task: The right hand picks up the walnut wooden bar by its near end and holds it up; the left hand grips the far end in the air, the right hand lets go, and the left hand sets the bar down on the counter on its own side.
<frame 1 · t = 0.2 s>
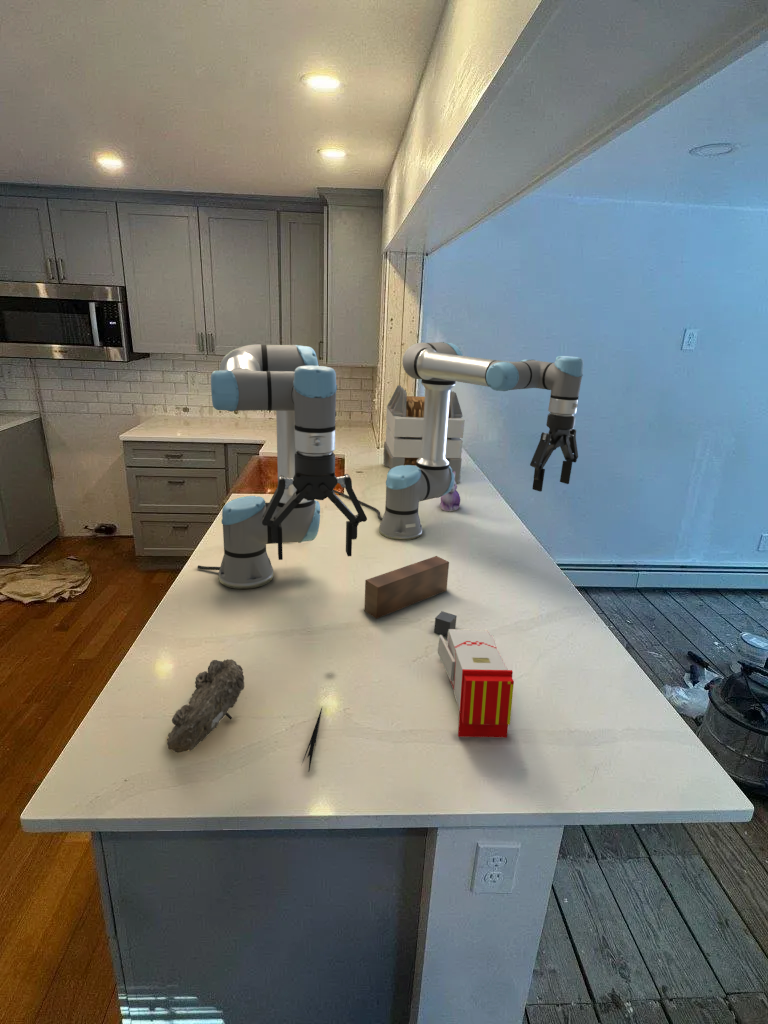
left hand: (314, 555, 113), 28 cm above the counter, fingers open, 13 cm apart
right hand: (551, 486, 165), 28 cm above the counter, fingers open, 13 cm apart
bar: (407, 600, 155), on the counter
figurine character: (284, 533, 196), on the counter
slate block: (444, 630, 141), on the counter
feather: (319, 719, 109), on the counter
fossil: (212, 717, 108), on the counter
toy: (469, 691, 119), on the counter
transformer: (419, 473, 275), on the counter
figurine: (449, 508, 228), on the counter
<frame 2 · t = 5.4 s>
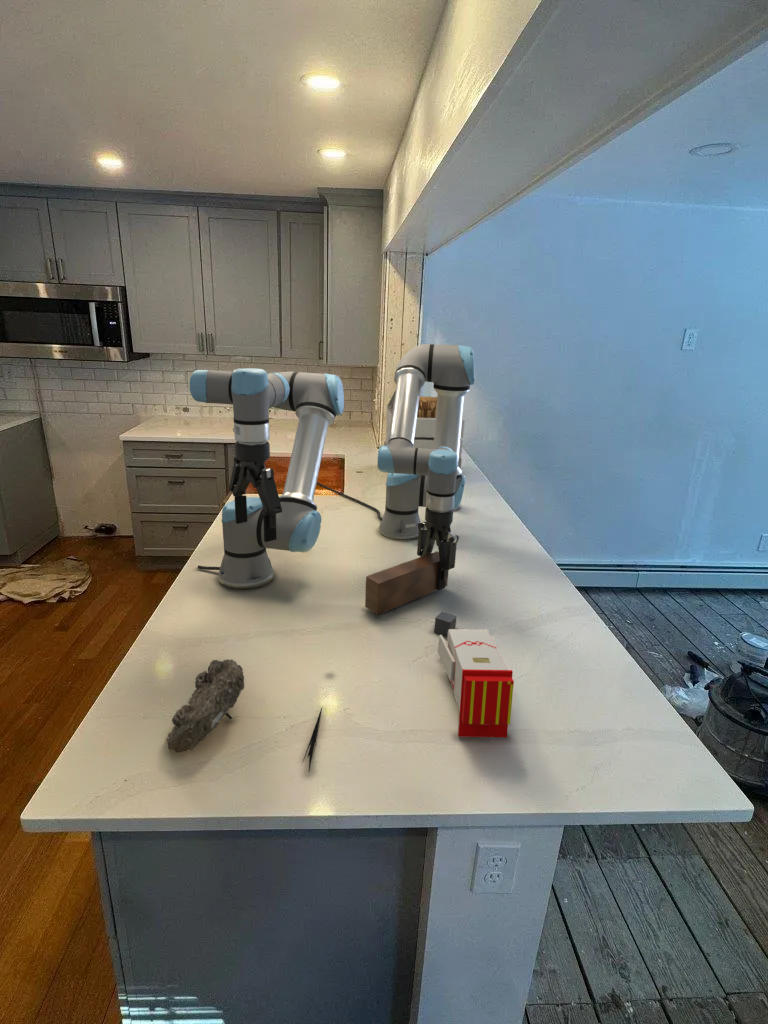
left hand: (255, 531, 132), 25 cm above the counter, fingers open, 13 cm apart
right hand: (433, 584, 161), 2 cm above the counter, fingers closed on bar, 5 cm apart
bar: (407, 595, 155), point 1 cm above the counter, touching right hand
everything else where it was.
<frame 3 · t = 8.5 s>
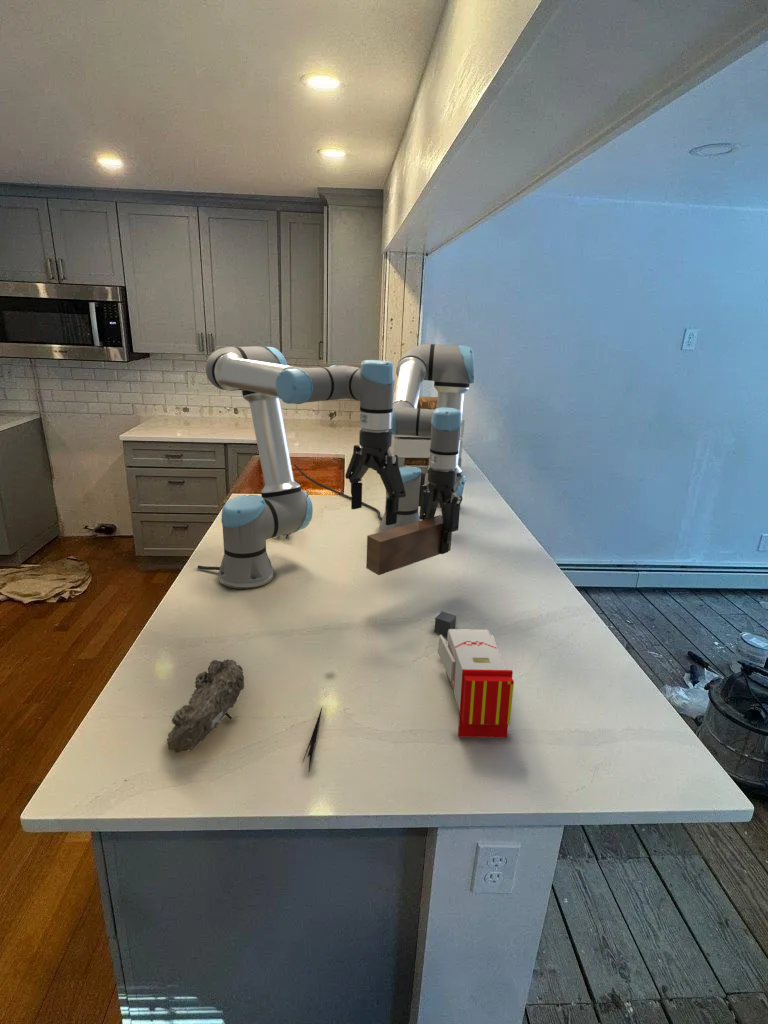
left hand: (373, 515, 138), 27 cm above the counter, fingers open, 13 cm apart
right hand: (436, 549, 157), 13 cm above the counter, fingers closed on bar, 5 cm apart
bar: (410, 559, 151), point 12 cm above the counter, touching right hand
everything else where it was.
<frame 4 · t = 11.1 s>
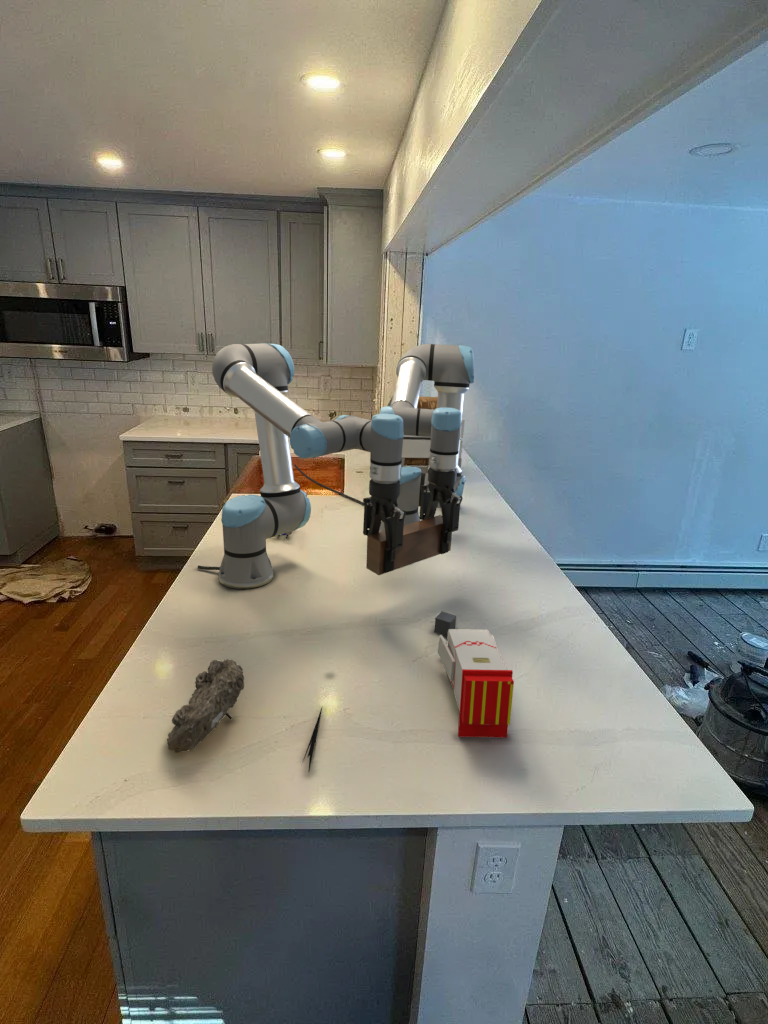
left hand: (381, 567, 144), 13 cm above the counter, fingers closed on bar, 5 cm apart
right hand: (436, 549, 157), 13 cm above the counter, fingers closed on bar, 5 cm apart
bar: (410, 559, 151), point 12 cm above the counter, touching right hand, left hand
everything else where it was.
when the right hand's fingers open (13 cm above the counter, at t = 11.9 s): bar stays where it is, held by the left hand.
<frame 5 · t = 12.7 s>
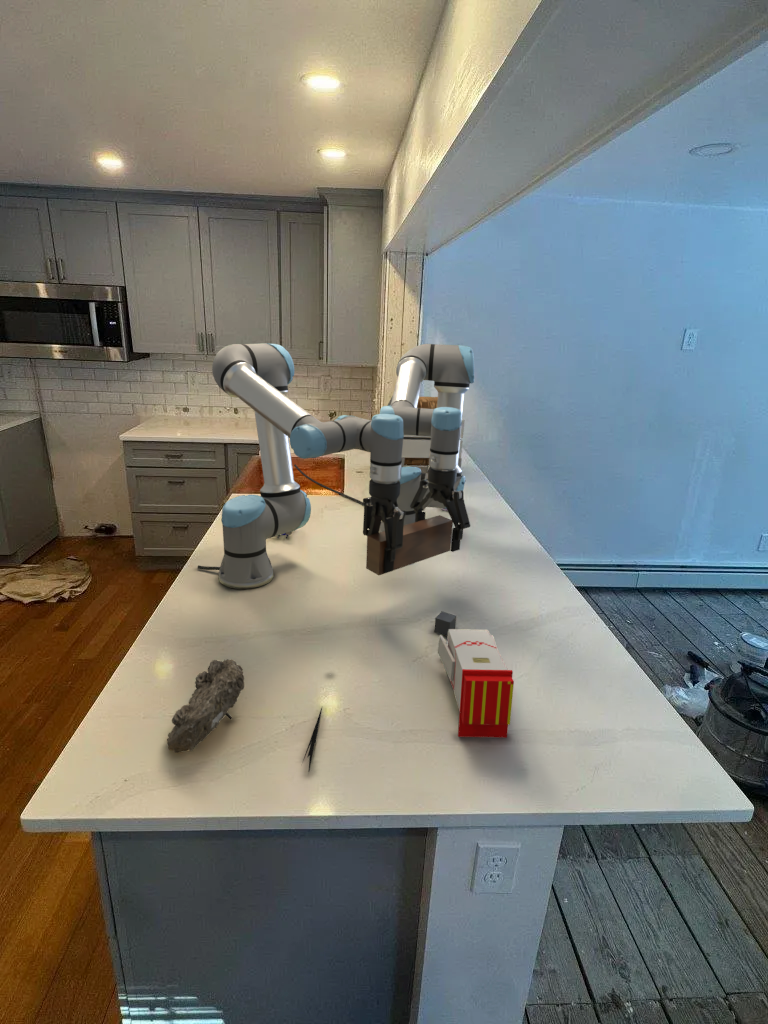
left hand: (380, 567, 144), 13 cm above the counter, fingers closed on bar, 5 cm apart
right hand: (436, 542, 156), 15 cm above the counter, fingers open, 13 cm apart
bar: (409, 559, 151), point 12 cm above the counter, touching left hand
everything else where it was.
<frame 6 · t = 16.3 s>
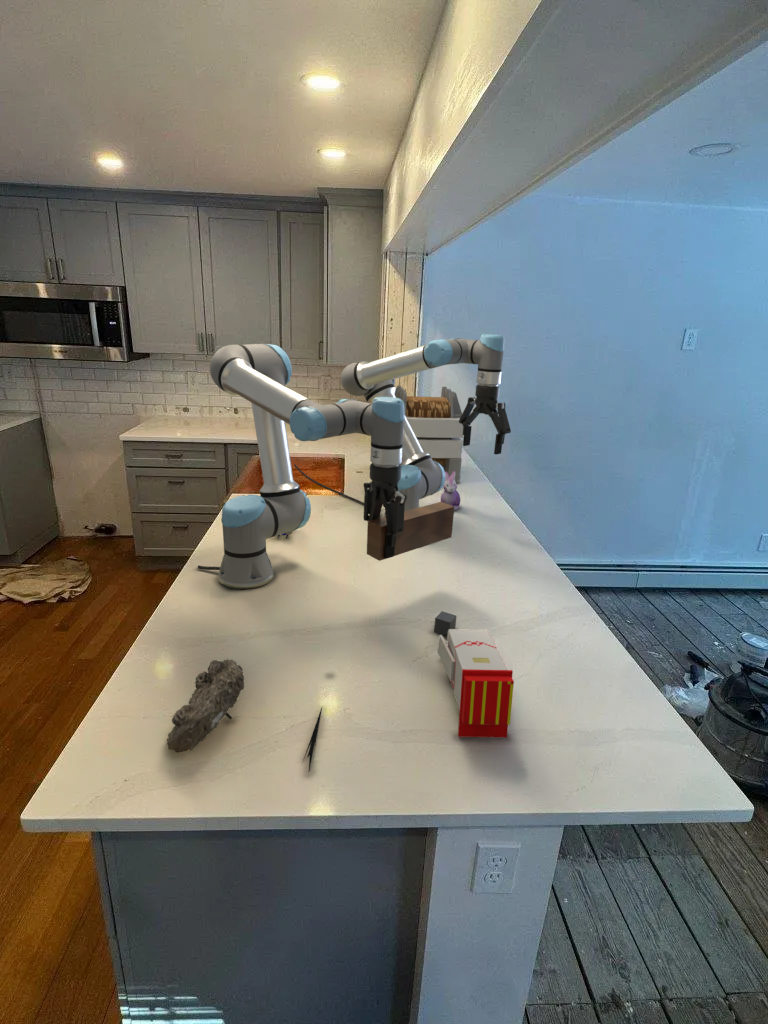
left hand: (381, 552, 143), 17 cm above the counter, fingers closed on bar, 5 cm apart
right hand: (481, 449, 189), 32 cm above the counter, fingers open, 13 cm apart
bar: (410, 545, 149), point 16 cm above the counter, touching left hand
everything else where it was.
when the left hand's fingers open (1 cm above the counter, at t = 21.4 s): bar stays where it is, on the counter.
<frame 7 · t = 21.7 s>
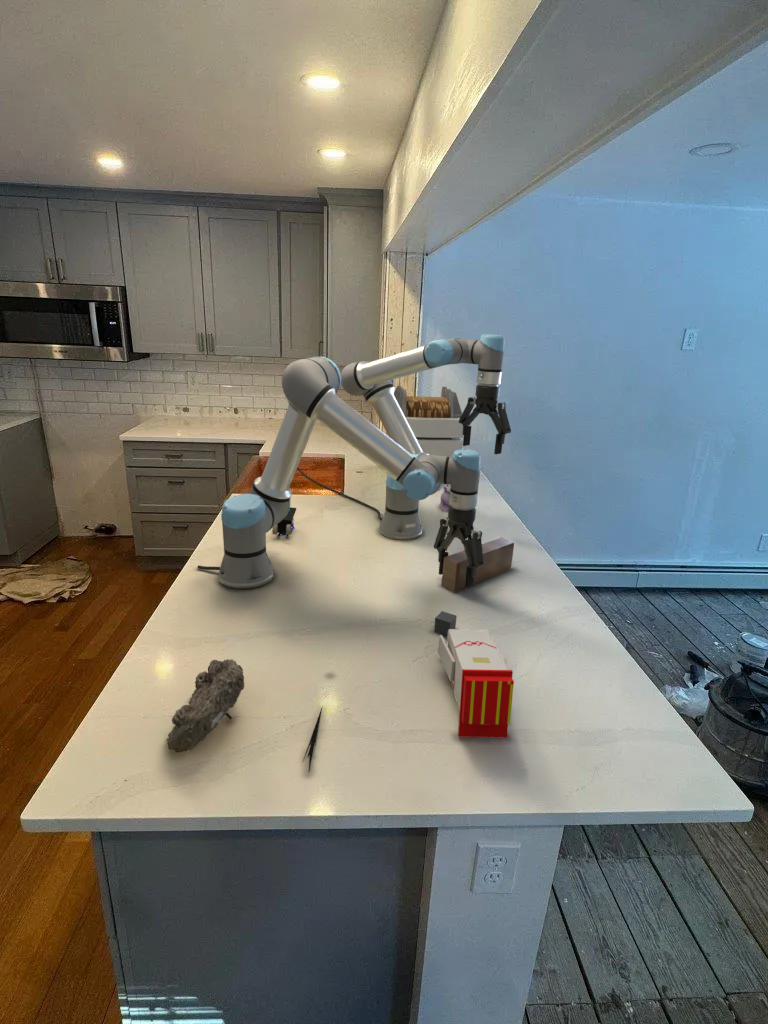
left hand: (455, 579, 163), 2 cm above the counter, fingers open, 9 cm apart
right hand: (481, 449, 189), 32 cm above the counter, fingers open, 13 cm apart
bar: (477, 577, 170), on the counter
everything else where it was.
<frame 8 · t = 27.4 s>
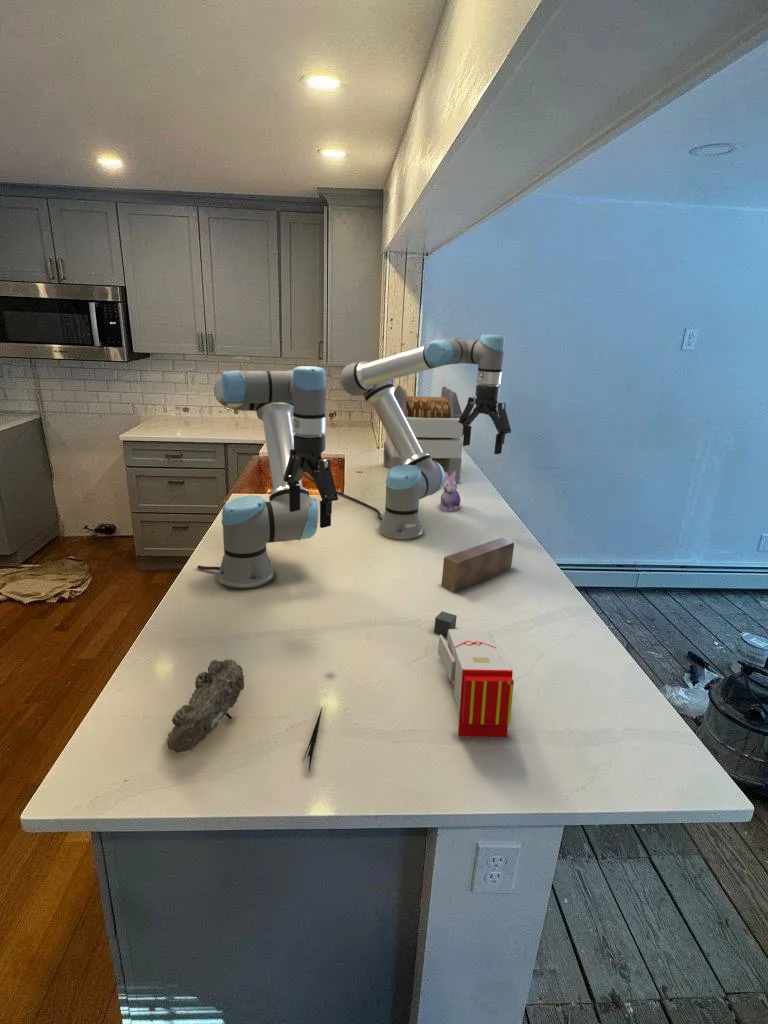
left hand: (309, 518, 141), 25 cm above the counter, fingers open, 13 cm apart
right hand: (481, 449, 189), 32 cm above the counter, fingers open, 13 cm apart
nothing on the counter moved.
at the end: both hands held the bar at the same time; bar inside the target area (0.0 cm from its centre), on the counter; the left hand is holding nothing; the right hand is holding nothing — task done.
